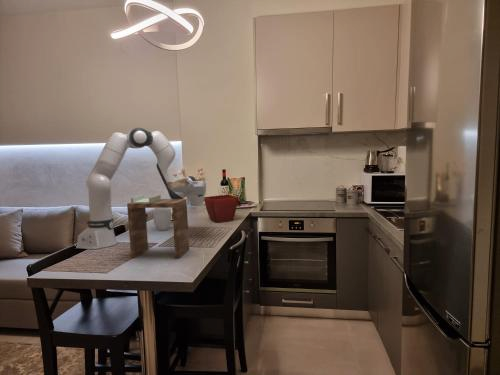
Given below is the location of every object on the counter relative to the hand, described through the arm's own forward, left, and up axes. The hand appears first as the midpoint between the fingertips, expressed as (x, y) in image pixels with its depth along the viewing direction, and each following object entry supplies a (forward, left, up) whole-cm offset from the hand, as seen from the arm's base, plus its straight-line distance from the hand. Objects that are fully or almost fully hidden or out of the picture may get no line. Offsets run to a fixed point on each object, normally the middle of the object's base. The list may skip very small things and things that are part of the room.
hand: (183, 180), depth 185 cm
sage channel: (-12, -20, -8) cm, 24 cm away
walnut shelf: (-6, -20, -34) cm, 40 cm away
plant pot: (+5, +59, -34) cm, 68 cm away
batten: (0, -7, -2) cm, 7 cm away
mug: (-26, +32, -34) cm, 53 cm away
